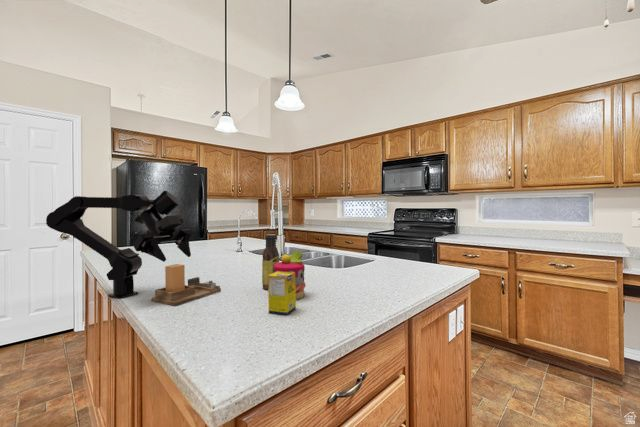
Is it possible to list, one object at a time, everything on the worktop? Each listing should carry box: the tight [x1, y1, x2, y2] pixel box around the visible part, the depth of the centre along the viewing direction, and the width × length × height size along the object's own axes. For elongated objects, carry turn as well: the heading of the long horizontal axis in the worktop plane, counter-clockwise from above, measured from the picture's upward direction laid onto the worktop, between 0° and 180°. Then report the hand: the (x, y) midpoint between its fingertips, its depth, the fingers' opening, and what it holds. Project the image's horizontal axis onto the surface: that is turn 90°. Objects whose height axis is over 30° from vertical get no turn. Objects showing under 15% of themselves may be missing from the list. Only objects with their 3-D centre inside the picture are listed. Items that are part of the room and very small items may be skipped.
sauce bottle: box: [261, 233, 280, 290], centre depth 112 cm, size 7×6×20 cm
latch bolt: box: [201, 280, 217, 290], centre depth 107 cm, size 4×2×3 cm, turn 63°
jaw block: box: [164, 263, 186, 292], centre depth 99 cm, size 4×4×10 cm
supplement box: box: [267, 271, 297, 316], centre depth 87 cm, size 6×6×11 cm
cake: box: [274, 250, 306, 301], centre depth 101 cm, size 10×11×15 cm
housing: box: [150, 276, 222, 307], centre depth 103 cm, size 12×18×4 cm, turn 153°
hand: (178, 258), depth 98 cm, fingers open, 9 cm apart
